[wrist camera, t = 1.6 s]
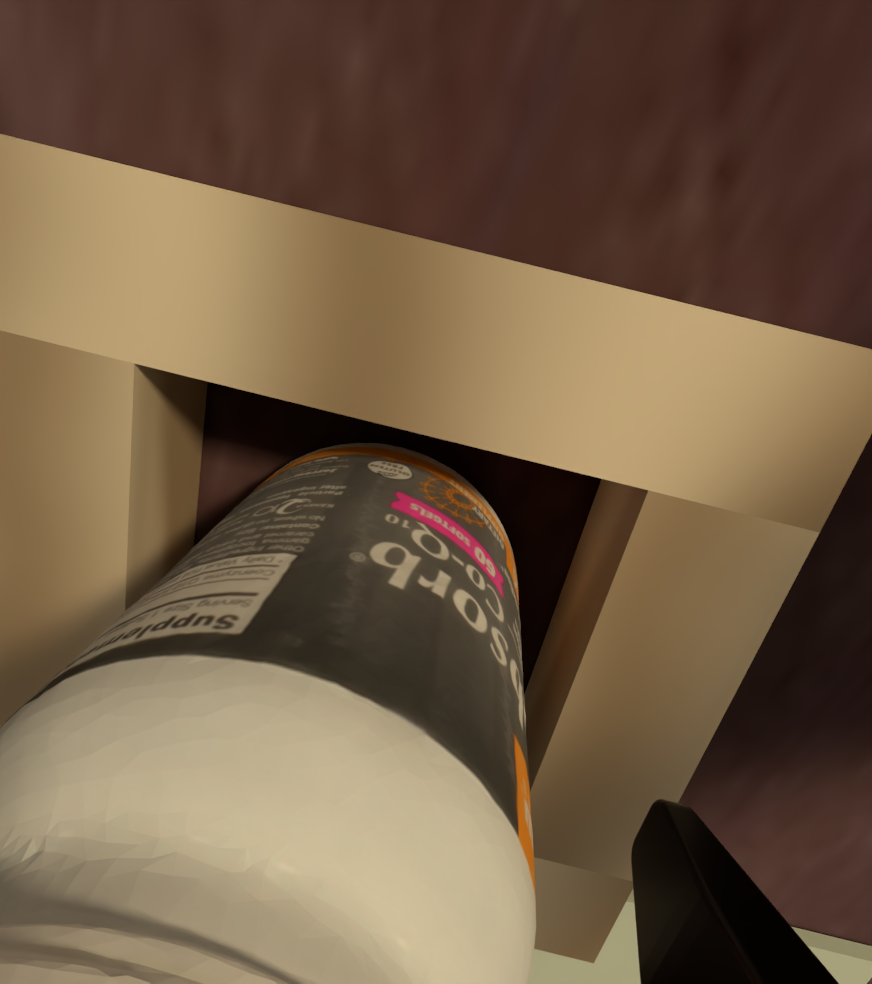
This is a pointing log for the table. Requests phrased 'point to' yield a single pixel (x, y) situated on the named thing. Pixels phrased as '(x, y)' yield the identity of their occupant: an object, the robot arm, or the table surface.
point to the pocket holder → (428, 411)
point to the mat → (617, 963)
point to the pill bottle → (287, 753)
